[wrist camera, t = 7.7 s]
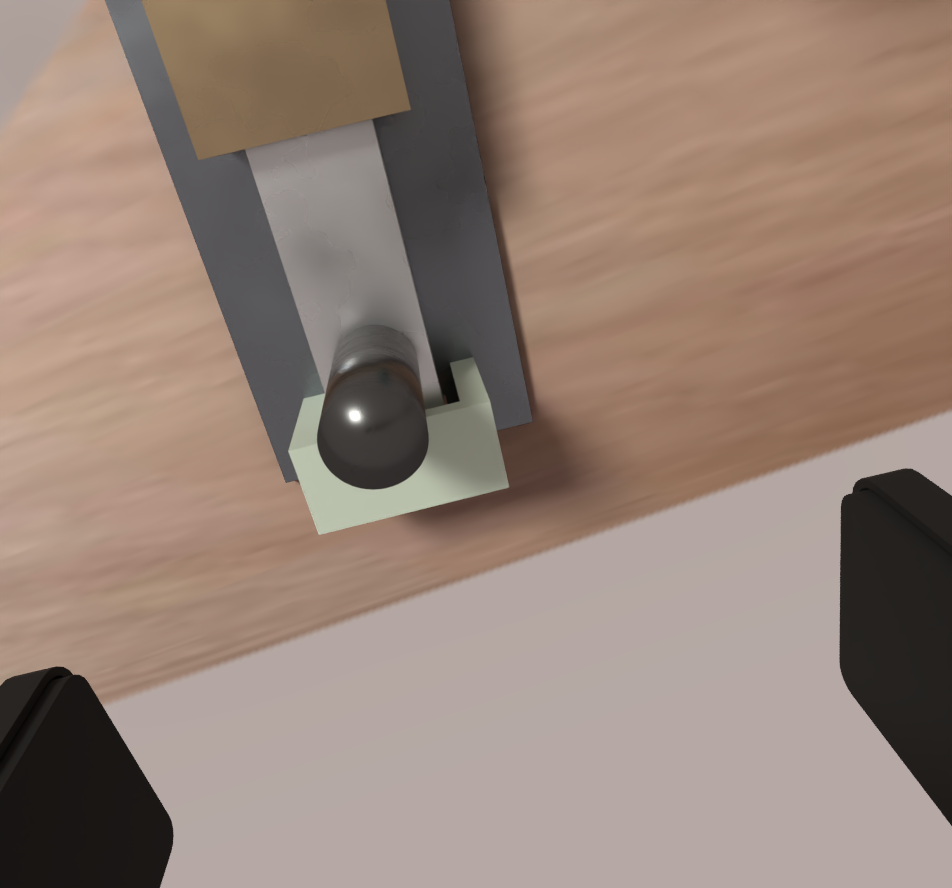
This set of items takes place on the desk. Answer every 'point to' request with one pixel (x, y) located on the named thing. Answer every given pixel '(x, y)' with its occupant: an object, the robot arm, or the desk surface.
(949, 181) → the desk surface
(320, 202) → the grey slider block
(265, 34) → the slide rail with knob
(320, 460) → the socket
